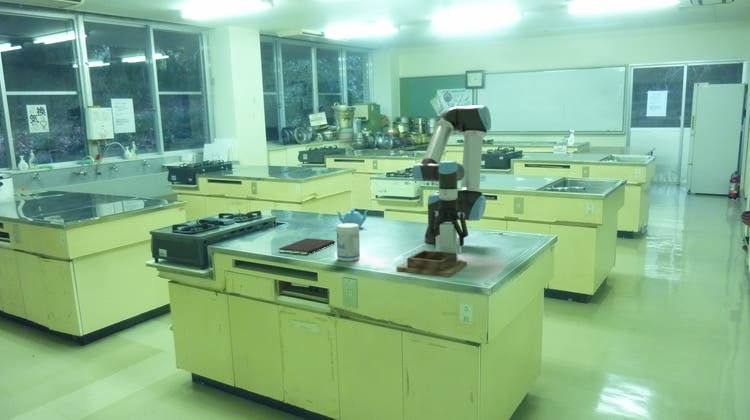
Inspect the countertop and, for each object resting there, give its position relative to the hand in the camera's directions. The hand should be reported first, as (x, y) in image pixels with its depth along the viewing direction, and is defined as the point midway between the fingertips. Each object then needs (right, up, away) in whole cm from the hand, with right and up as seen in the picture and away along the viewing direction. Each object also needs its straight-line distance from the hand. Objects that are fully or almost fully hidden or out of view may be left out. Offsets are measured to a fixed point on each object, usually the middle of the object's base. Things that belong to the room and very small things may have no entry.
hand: (448, 252), depth 225 cm
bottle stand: (-8, -5, -14) cm, 17 cm away
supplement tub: (-42, -3, +4) cm, 42 cm away
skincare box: (0, -3, 0) cm, 3 cm away
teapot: (-43, +8, +72) cm, 84 cm away
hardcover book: (-62, -1, +27) cm, 68 cm away
